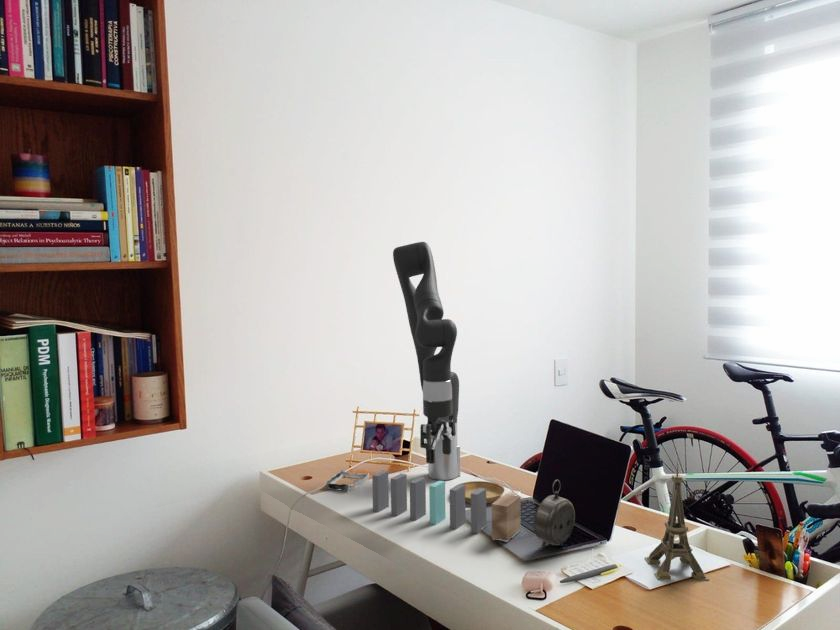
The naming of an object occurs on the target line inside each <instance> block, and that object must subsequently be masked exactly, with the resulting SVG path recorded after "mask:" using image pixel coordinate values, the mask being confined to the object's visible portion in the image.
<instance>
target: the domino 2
mask: <svg viewBox="0 0 840 630" xmlns="http://www.w3.org/2000/svg"><path fill="white" fill-rule="evenodd" d="M407 482H408V480H407V474H405V473H399V474H397V475H395V476H394V477H391V478H390V508H391V510H390V511H391V513H390V514H391V516H393V517H399V516H400V515H401V514H404V513H406V512H407V511H408V494H407V493H408V489H407V488H408V485H407V484H408V483H407Z"/></svg>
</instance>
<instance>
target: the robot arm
mask: <svg viewBox="0 0 840 630" xmlns="http://www.w3.org/2000/svg"><path fill="white" fill-rule="evenodd" d="M392 259H393V263H394V268H395V271H396V274H397V277H398V281H399V285H400V289H401V292H402V295H403V298H404V300H403V301H404V304H405V309H406V313H407V320H408V323H409V328H410V333H411V336H412V341H413V344H414V349H415V353H416V357H417V365H418V373H419V379H420V386H421V391H422V412H423V413H422V414H423V415H424V417H426V418H427V424H425V423H424V424H423V423H421V424H420V431H419V432H420V433H419V434H420V439H419V441H420V443H419V444H420V448H421V449H424V450H425V460H426V461H425V462H426V463H427V464H428V469H427V470H428V471H427V472H428V477H429V478H430V479H433V480H438V481H439V480H440V481H447V480H452V479H453V480H454V479H455V478H458V477H460V476H461V446H460V444H458V414H459V404H460V403H459V401H460V400H459V399H460V380H459V377H458V374H457V373H456V372H454V371H451V370H452V369H451V363H452V355H453V352H454V348H455V344H456V340H457V336H458V329H457V326H456V323H455V322H454V321H453V320H451V319H449V318H444V314H445V313H444V308H443V305H442V304H443V303H442V301H441V298H440V296H439V294H440V293H439V290H438V281H437V275H436V274H437V273H436V267H435V261H434V256H433V252H432V249H431V247H430V245H429V243H427V241H426V242H425V241H418V242H414V243H410V244H409V243H408V244H406V245H402V246H398V247H395V248H394V249H393V252H392ZM420 275H422V277H421V278H420V281H419V282H418V285H417V287H415V286H414V284H413V283H412V281H411V278H412V277H416V276H420ZM438 348H440V351H439V352H438V353H437V354H436V351H437V349H438Z"/></svg>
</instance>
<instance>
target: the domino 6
mask: <svg viewBox="0 0 840 630" xmlns="http://www.w3.org/2000/svg"><path fill="white" fill-rule="evenodd" d="M485 525H486V526H487V504H486V489H484V488H479V489H477V490H475V491H474V492H472V493H471V503H470V533H472V534H475V535H476V534H477V535H478V534H479V533H481V532H482V531H481V528H482V527H484V526H485Z"/></svg>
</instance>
